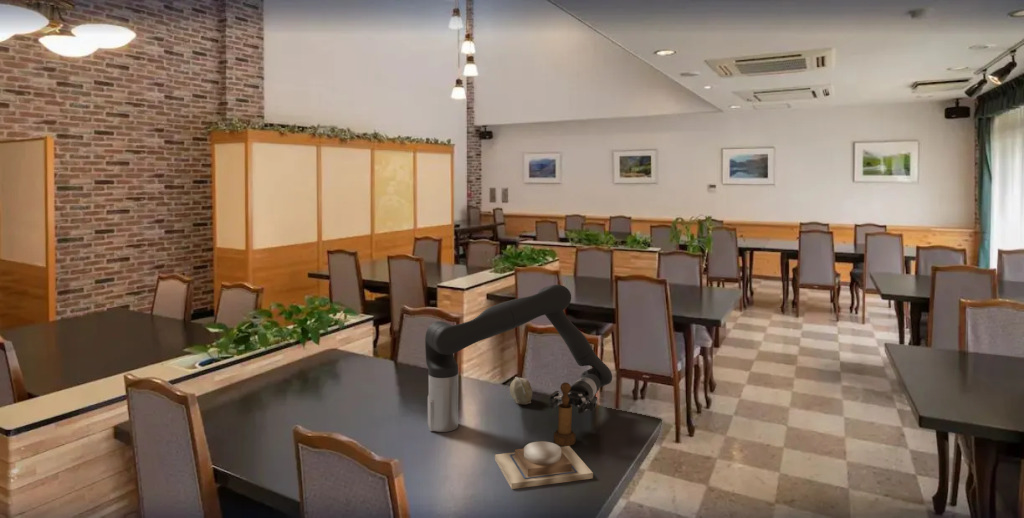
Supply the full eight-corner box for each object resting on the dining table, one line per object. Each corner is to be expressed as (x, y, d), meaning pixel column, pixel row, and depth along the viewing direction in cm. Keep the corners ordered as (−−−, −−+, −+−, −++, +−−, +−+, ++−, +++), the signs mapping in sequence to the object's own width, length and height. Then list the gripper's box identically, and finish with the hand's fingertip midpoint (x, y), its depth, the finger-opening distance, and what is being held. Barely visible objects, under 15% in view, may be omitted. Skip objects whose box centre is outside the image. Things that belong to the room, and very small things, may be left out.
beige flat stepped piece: (511, 489, 152) (511, 468, 152) (495, 459, 169) (495, 440, 168) (592, 478, 158) (593, 458, 158) (569, 450, 175) (569, 432, 174)
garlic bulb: (524, 413, 209) (523, 390, 205) (503, 404, 214) (503, 382, 209) (538, 398, 216) (538, 375, 212) (518, 389, 220) (517, 367, 216)
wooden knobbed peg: (574, 447, 177) (575, 387, 175) (552, 445, 178) (553, 385, 176) (576, 437, 184) (577, 380, 181) (555, 436, 185) (556, 378, 183)
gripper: (561, 377, 198) (543, 392, 183) (604, 383, 192) (589, 399, 177) (561, 399, 199) (543, 416, 184) (603, 406, 193) (588, 424, 178)
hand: (565, 408), depth 181 cm, fingers open, 8 cm apart
